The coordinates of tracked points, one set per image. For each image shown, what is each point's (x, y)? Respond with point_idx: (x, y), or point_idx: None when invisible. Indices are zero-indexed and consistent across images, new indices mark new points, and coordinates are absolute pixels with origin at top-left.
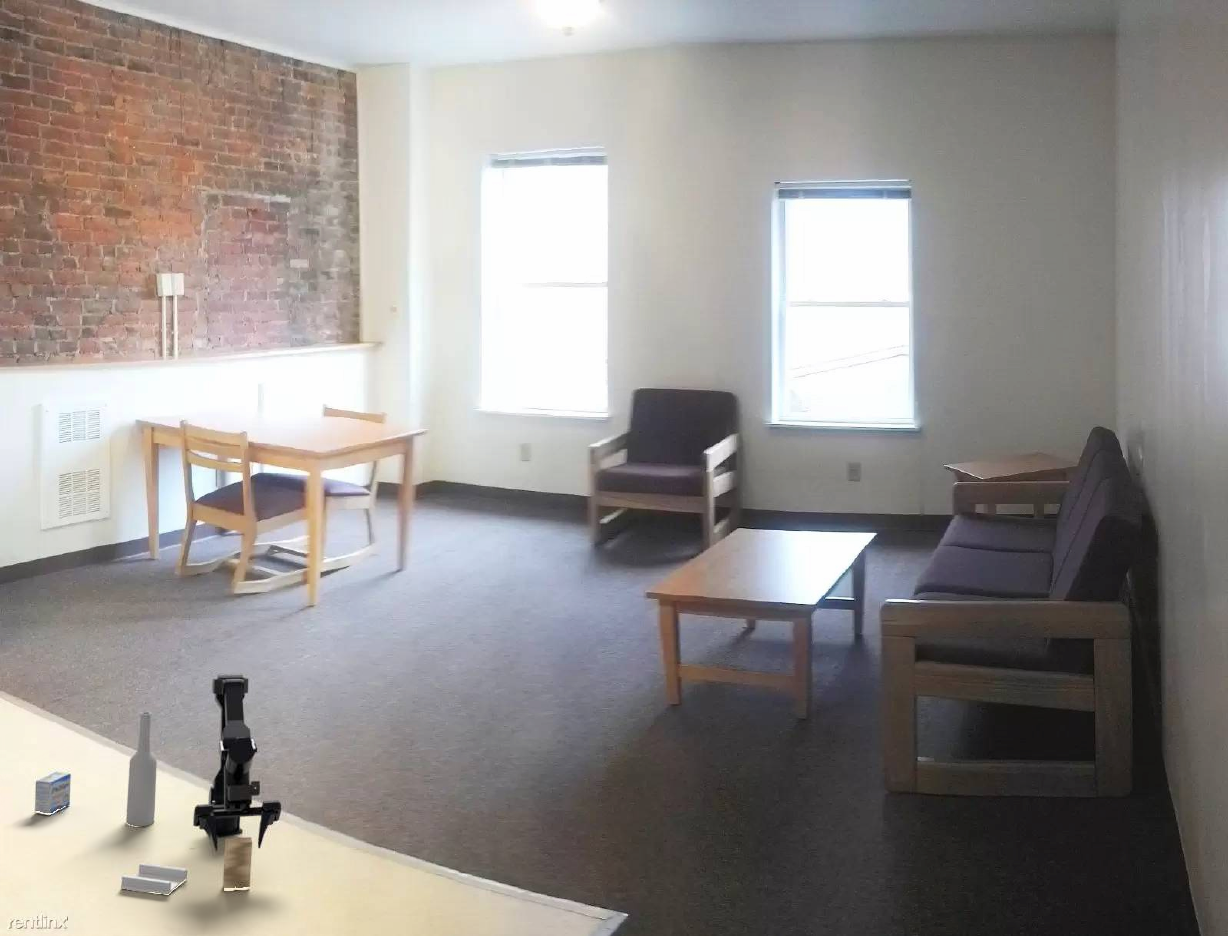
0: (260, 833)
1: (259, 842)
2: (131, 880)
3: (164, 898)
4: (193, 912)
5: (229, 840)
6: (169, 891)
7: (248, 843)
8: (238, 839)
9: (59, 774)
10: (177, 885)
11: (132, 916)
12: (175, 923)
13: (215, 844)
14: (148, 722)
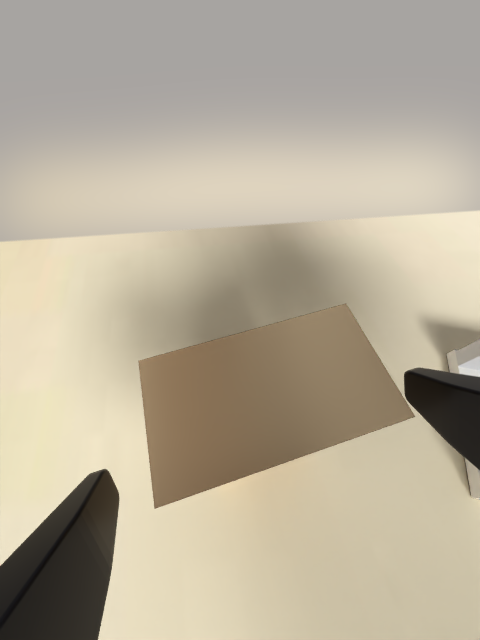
0: (8, 599)
1: (84, 490)
2: None
3: (445, 340)
4: (322, 274)
5: (354, 374)
6: (456, 358)
7: (173, 355)
8: (279, 414)
9: None
10: None
11: (450, 248)
12: (337, 229)
13: (450, 374)
14: None
